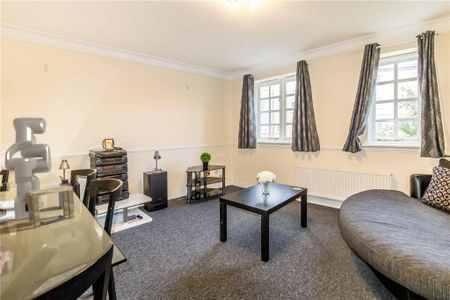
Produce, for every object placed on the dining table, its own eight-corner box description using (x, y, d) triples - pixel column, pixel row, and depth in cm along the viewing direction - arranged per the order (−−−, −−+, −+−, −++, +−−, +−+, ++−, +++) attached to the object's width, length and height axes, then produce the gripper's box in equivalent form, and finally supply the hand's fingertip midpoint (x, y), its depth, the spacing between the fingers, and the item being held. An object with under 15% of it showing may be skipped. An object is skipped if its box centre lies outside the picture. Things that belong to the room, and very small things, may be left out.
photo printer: (38, 215, 141) (37, 194, 141) (38, 217, 138) (36, 196, 137) (16, 219, 136) (14, 197, 135) (14, 221, 132) (12, 199, 131)
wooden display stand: (29, 224, 126) (26, 191, 125) (67, 214, 141) (65, 185, 140) (35, 227, 121) (32, 193, 120) (74, 217, 136) (72, 186, 134)
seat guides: (38, 222, 129) (38, 219, 129) (60, 216, 137) (60, 214, 137) (44, 225, 124) (43, 222, 124) (66, 219, 133) (66, 216, 133)
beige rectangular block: (74, 206, 157) (72, 179, 156) (62, 209, 152) (60, 181, 151) (71, 204, 162) (69, 178, 161) (59, 207, 157) (57, 180, 156)
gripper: (10, 180, 137) (13, 209, 138) (20, 182, 127) (23, 214, 128) (27, 178, 143) (29, 206, 144) (37, 180, 133) (39, 210, 134)
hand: (26, 210), depth 136 cm, fingers open, 9 cm apart
